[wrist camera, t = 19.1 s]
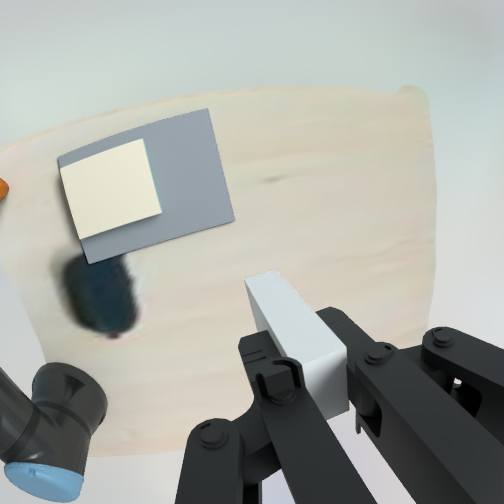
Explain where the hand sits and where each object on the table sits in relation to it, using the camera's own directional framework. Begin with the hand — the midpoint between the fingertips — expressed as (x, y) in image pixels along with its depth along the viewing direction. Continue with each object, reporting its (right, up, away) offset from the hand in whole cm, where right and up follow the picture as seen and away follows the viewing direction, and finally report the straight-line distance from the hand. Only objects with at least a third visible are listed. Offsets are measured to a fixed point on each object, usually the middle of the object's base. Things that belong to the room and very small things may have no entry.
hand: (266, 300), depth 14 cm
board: (-13, +12, +23) cm, 29 cm away
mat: (-15, +11, +25) cm, 31 cm away
